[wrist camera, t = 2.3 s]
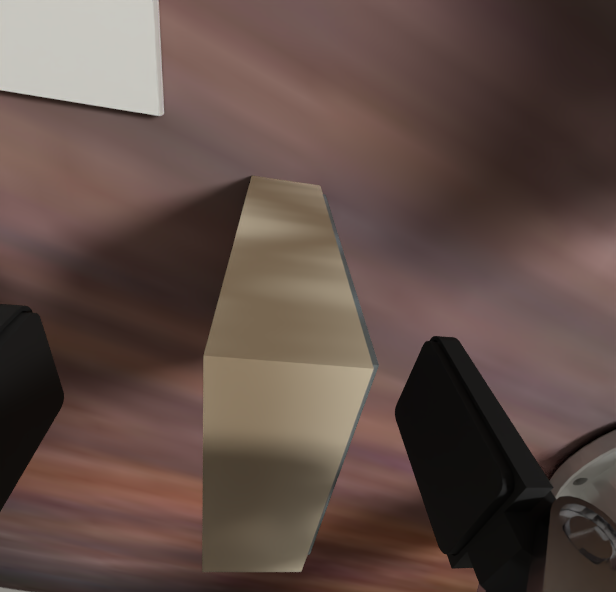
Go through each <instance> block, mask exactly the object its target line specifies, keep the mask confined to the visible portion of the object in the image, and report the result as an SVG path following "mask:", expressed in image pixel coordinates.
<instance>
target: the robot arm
mask: <svg viewBox="0 0 616 592" xmlns="http://www.w3.org/2000/svg"><path fill="white" fill-rule="evenodd" d="M63 400H64V393H63V389H62V386H61V383H60V379H59V376H58V373H57V370H56V367H55V363H54V360H53V357H52V354H51V351H50V347H49V344H48V341H47V338H46V334H45V331H44V328H43V325H42V322H41V318H40V316H39V315H38V314H37V313H33V312H32V310H31V309H30V308H29V307H27V306H20V305H7V304H0V511H1V509H2V508H3V506H4V504H5V503H6V501H7V499H8V498H9V496H10V494H11V492H12V491H13V489H14V487H15V486H16V484H17V482H18V480H19V479H20V477H21V475H22V474H23V472H24V470H25V469H26V467H27V465H28V463H29V462H30V460H31V458H32V457H33V455H34V453H35V452H36V450H37V448H38V446H39V445H40V443H41V441H42V440H43V438H44V436H45V434H46V433H47V431H48V429H49V428H50V426H51V424H52V423H53V421H54V419H55V417H56V416H57V414H58V412H59V411H60V409H61V407H62V404H63ZM395 418H396V421H397V424H398V427H399V430H400V433H401V436H402V439H403V442H404V445H405V448H406V451H407V454H408V457H409V460H410V463H411V466H412V469H413V472H414V475H415V478H416V481H417V484H418V487H419V490H420V493H421V496H422V499H423V502H424V505H425V508H426V511H427V514H428V517H429V520H430V523H431V525H432V528H433V531H434V534H435V537H436V540H437V543H438V546H439V548H440V550H441V551H442V552H443V553H444V554H447V556H448V559H449V562H450V565H451V568H474V571H475V574H476V576H477V579H478V581H479V585H478V589H477V592H616V429H615V430H613V431H611V432H609V433H607V434H605V435H603V436H601V437H599V438H597V439H596V440H594V441H592V442H591V443H589V444H587V445H586V446H584V447H582V448H581V449H580V450H578V451H577V452H576V453H574V454H573V455H572V456H570V457H569V458H568V459H567V460H566V461H565V462H564V463H563V464H562V465H561V466H560V467H559V468H558V469H557V470H556V472H555V473H554V475H553V476H552V478H551V479H550V481H549V480H548V478H547V477H546V475H545V473H544V472H543V470H542V469H541V467H540V466H539V464H538V463H537V461H536V460H535V458H534V456H533V455H532V453H531V452H530V450H529V449H528V447H527V446H526V444H525V442H524V441H523V439H522V438H521V436H520V435H519V433H518V432H517V430H516V428H515V427H514V425H513V424H512V422H511V421H510V419H509V418H508V416H507V414H506V413H505V411H504V410H503V408H502V407H501V405H500V404H499V402H498V401H497V399H496V397H495V396H494V394H493V393H492V391H491V390H490V388H489V387H488V385H487V383H486V382H485V380H484V379H483V377H482V376H481V374H480V373H479V371H478V369H477V368H476V366H475V365H474V363H473V362H472V360H471V359H470V357H469V355H468V354H467V352H466V351H465V349H464V348H463V346H462V345H461V343H460V342H459V340H458V339H456V338H453V337H440V336H434V337H432V338H431V339H430V341H426V342H425V343H424V345H423V347H422V349H421V351H420V354H419V356H418V358H417V360H416V362H415V365H414V367H413V369H412V371H411V374H410V376H409V378H408V380H407V383H406V385H405V387H404V389H403V391H402V394H401V396H400V398H399V400H398V403H397V405H396V408H395Z"/></svg>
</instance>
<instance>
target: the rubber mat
mask: <svg viewBox="0 0 616 592" xmlns="http://www.w3.org/2000/svg"><path fill="white" fill-rule="evenodd" d="M0 90H3V91H9V92H15V93H21V94H27V95H33V96H40V97H46V98H52V99H58V100H64V101H70V102H76V103H83V104H89V105H95V106H101V107H107V108H113V109H119V110H125V111H132V112H138V113H144V114H150V115H156V116H161V115H163V114H164V101H163V81H162V61H161V40H160V20H159V0H0Z"/></svg>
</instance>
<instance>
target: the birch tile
mask: <svg viewBox="0 0 616 592" xmlns="http://www.w3.org/2000/svg"><path fill="white" fill-rule="evenodd" d="M378 366H379V364H378V361H377V358H376V355H375V352H374V348H373V345H372V342H371V339H370V336H369V332H368V329H367V326H366V323H365V320H364V316H363V313H362V310H361V307H360V304H359V300H358V297H357V294H356V291H355V288H354V284H353V281H352V278H351V275H350V272H349V268H348V265H347V262H346V259H345V256H344V252H343V249H342V246H341V243H340V240H339V236H338V233H337V230H336V227H335V224H334V220H333V217H332V214H331V211H330V208H329V204H328V201H327V198H326V195H324V194H322V190H321V187H320V186H319V185H312V184H305V183H298V182H292V181H285V180H278V179H271V178H264V177H257V176H251V180H250V184H249V187H248V191H247V195H246V199H245V202H244V206H243V210H242V213H241V217H240V221H239V225H238V228H237V232H236V236H235V240H234V243H233V247H232V251H231V255H230V258H229V262H228V266H227V270H226V273H225V277H224V281H223V285H222V288H221V292H220V296H219V300H218V303H217V307H216V311H215V315H214V318H213V322H212V326H211V330H210V333H209V337H208V341H207V344H206V348H205V352H204V358H203V537H202V572H301V571H302V569H303V566H304V563H305V560H306V557H307V555H310V553H311V550H312V547H313V544H314V542H315V539H316V536H317V533H318V531H319V528H320V525H321V522H322V520H323V517H324V514H325V511H326V509H327V506H328V503H329V500H330V498H331V495H332V492H333V489H334V487H335V484H336V481H337V478H338V476H339V473H340V470H341V467H342V465H343V462H344V459H345V457H346V454H347V451H348V448H349V446H350V443H351V440H352V437H353V435H354V432H355V429H356V426H357V424H358V421H359V418H360V415H361V413H362V410H363V407H364V404H365V402H366V399H367V396H368V393H369V391H370V388H371V385H372V382H373V380H374V377H375V374H376V371H377V369H378Z"/></svg>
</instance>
